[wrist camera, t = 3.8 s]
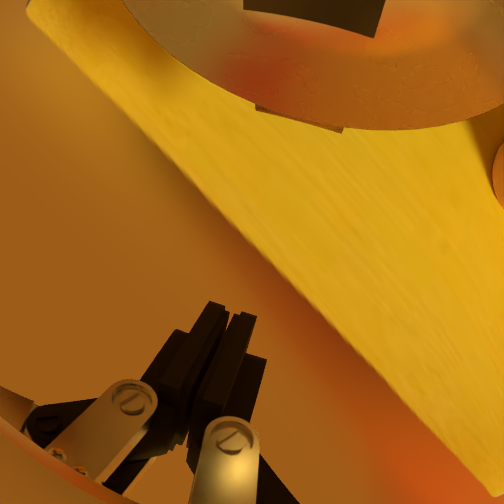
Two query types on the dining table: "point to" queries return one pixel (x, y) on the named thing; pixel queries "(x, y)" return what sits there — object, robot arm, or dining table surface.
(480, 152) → the dining table surface
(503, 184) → the milk bottle
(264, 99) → the cooker lid
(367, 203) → the dining table surface
